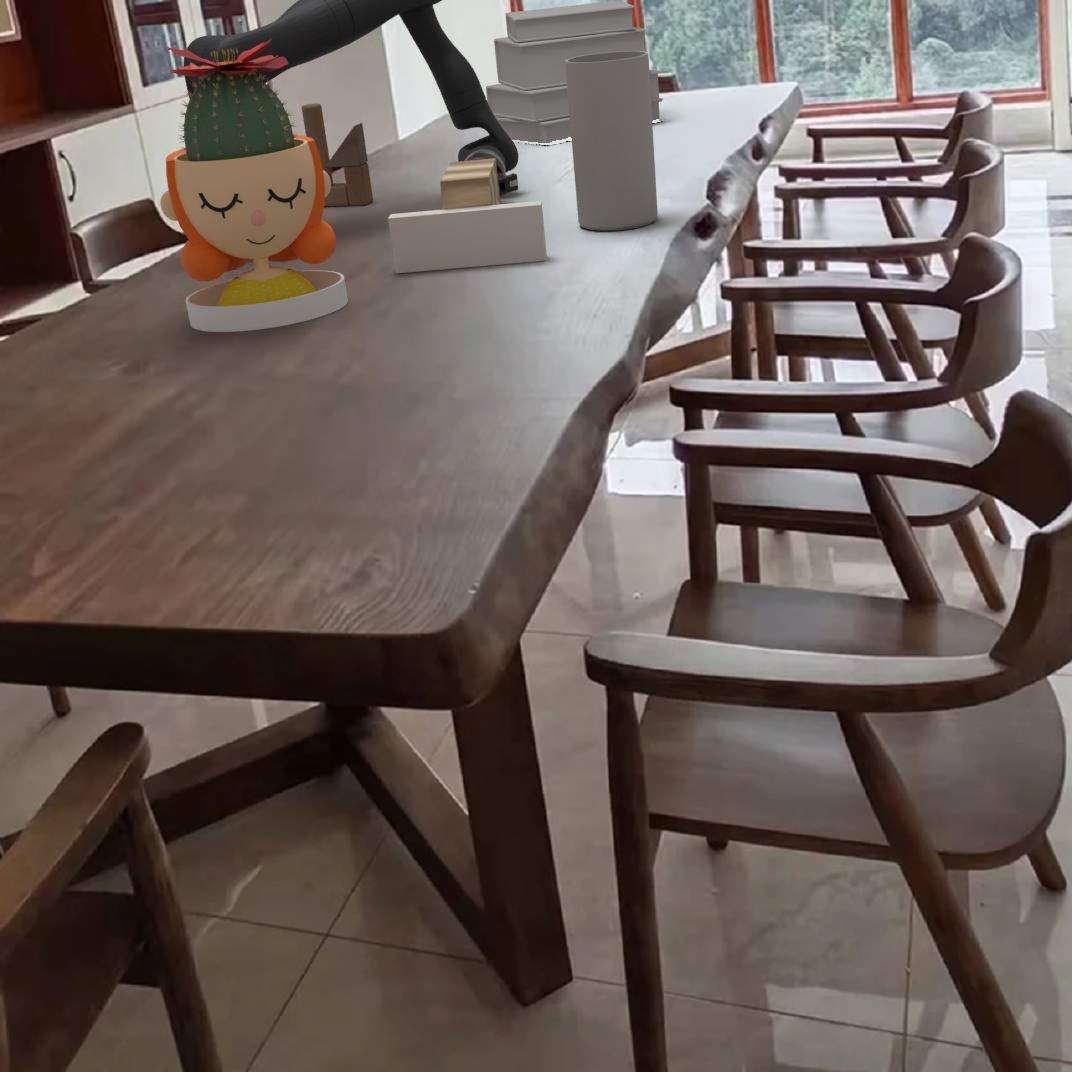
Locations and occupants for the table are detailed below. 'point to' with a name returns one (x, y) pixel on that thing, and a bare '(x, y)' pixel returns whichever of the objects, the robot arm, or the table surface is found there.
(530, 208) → the board
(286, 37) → the robot arm
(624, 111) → the cylinder vase
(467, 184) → the maple block
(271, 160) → the potted cactus
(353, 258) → the table surface
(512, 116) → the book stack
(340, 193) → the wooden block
